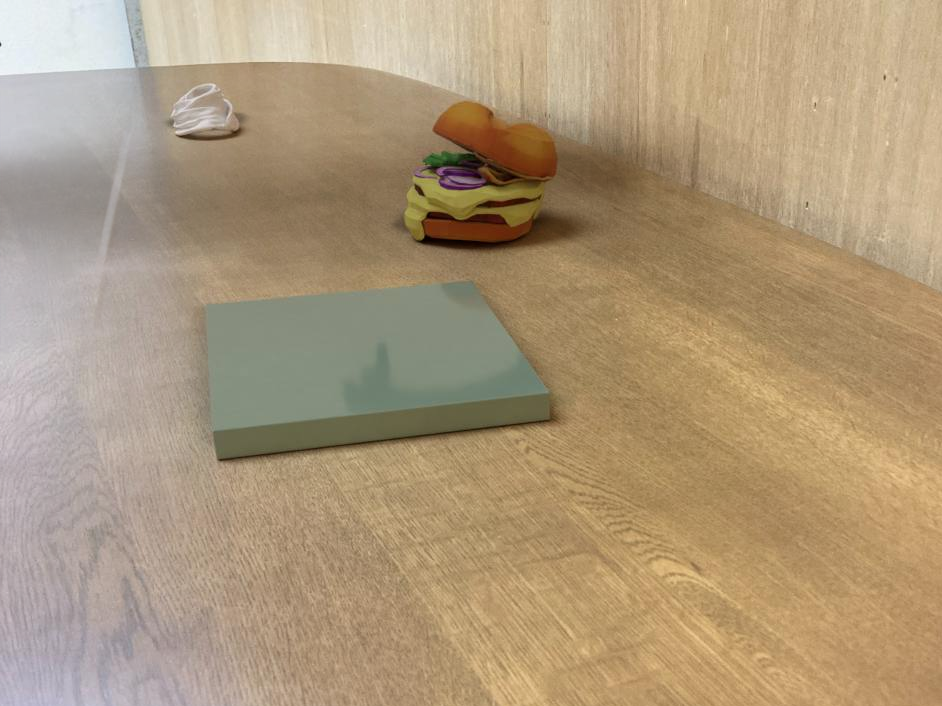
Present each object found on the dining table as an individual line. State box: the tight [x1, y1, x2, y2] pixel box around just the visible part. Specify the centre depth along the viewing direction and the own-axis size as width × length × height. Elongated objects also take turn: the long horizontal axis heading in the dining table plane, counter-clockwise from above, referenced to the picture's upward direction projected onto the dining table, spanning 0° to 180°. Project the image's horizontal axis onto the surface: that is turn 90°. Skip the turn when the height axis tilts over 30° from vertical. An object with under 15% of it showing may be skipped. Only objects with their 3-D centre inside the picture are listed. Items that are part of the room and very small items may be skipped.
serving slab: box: [204, 280, 551, 460], centre depth 62 cm, size 18×16×2 cm
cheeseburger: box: [403, 100, 558, 243], centre depth 83 cm, size 10×11×10 cm
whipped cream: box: [170, 83, 240, 136], centre depth 116 cm, size 8×7×5 cm
